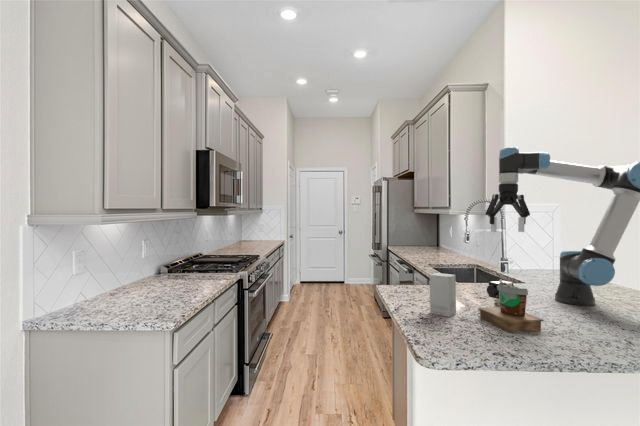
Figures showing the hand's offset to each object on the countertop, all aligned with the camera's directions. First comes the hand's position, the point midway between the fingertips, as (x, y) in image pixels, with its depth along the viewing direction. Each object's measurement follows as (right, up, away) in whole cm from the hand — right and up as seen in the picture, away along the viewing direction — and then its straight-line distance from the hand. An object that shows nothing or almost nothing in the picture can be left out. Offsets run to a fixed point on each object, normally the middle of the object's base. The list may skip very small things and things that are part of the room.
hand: (507, 232), depth 160 cm
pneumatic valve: (-6, -32, -6) cm, 33 cm away
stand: (-14, -32, -29) cm, 45 cm away
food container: (-15, -28, -29) cm, 43 cm away
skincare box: (-34, -32, -16) cm, 49 cm away
